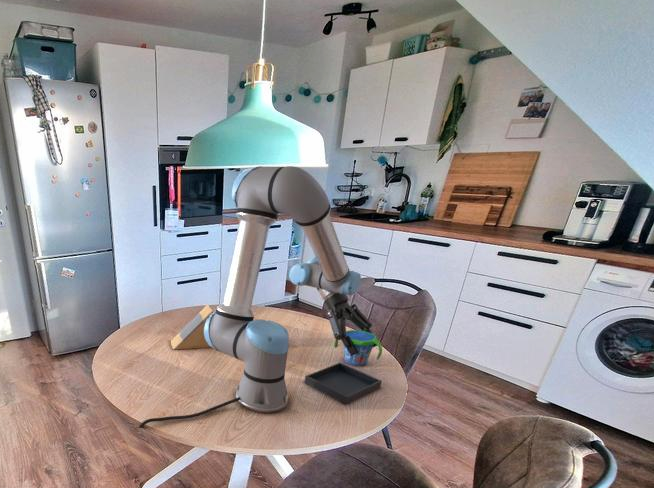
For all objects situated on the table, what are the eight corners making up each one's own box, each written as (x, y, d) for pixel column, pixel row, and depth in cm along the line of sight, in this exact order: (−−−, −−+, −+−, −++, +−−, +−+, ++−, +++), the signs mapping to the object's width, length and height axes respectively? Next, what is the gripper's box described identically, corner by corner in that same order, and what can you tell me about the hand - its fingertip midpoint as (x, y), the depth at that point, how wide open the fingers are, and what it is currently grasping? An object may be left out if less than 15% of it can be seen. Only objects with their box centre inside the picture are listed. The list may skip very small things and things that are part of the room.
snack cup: (326, 358, 140) (330, 332, 136) (341, 350, 146) (346, 325, 142) (368, 374, 129) (375, 346, 125) (383, 365, 135) (390, 338, 131)
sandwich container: (170, 340, 156) (169, 305, 150) (207, 338, 158) (208, 303, 152) (172, 349, 148) (172, 312, 142) (212, 347, 150) (213, 310, 144)
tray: (345, 404, 113) (347, 397, 112) (304, 382, 124) (305, 375, 123) (380, 387, 121) (382, 380, 120) (338, 368, 133) (339, 362, 132)
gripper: (346, 295, 148) (376, 347, 142) (304, 306, 136) (335, 362, 131) (361, 285, 141) (393, 338, 136) (319, 295, 130) (352, 354, 124)
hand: (364, 350), depth 133 cm, fingers closed on snack cup, 11 cm apart
